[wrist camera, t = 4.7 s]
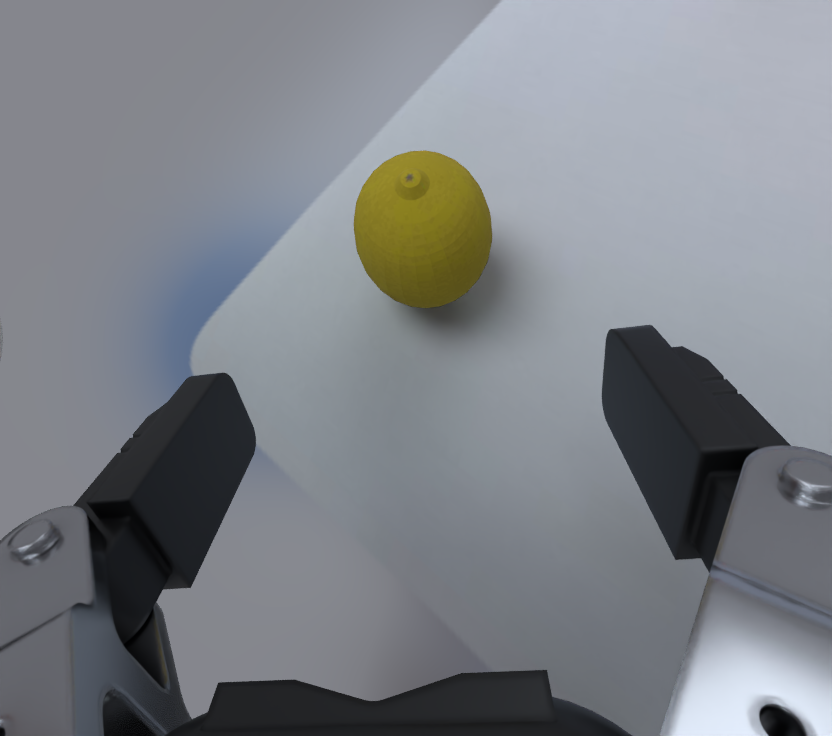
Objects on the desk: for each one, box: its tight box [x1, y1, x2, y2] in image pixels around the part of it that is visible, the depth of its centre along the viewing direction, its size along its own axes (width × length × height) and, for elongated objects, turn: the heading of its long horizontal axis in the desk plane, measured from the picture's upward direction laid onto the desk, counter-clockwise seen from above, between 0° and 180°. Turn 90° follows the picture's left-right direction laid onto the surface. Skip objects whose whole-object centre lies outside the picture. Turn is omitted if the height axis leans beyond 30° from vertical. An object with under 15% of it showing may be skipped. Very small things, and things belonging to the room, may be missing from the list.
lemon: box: [354, 151, 492, 308], centre depth 19 cm, size 6×6×8 cm
